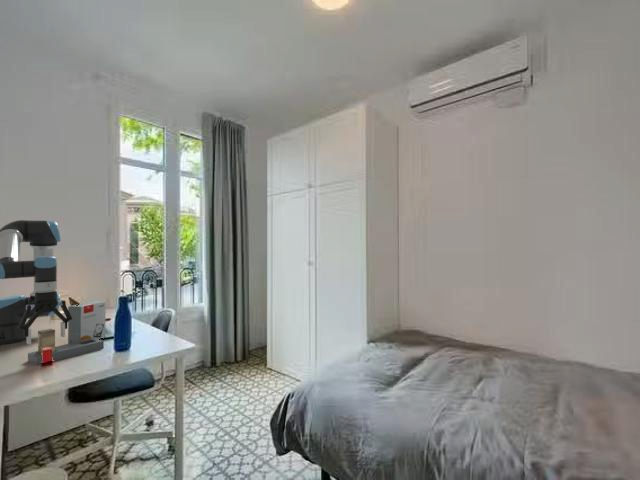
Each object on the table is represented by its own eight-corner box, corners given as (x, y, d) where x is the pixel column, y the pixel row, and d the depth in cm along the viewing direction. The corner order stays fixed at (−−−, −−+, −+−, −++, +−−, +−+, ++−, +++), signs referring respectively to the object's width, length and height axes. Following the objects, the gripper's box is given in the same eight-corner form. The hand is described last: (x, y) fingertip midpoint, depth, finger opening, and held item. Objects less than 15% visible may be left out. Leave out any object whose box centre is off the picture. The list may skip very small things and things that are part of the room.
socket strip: (27, 361, 144) (27, 352, 144) (93, 344, 166) (93, 337, 166) (36, 365, 138) (36, 356, 138) (103, 348, 160) (103, 340, 160)
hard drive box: (79, 346, 163) (79, 306, 163) (67, 345, 164) (66, 306, 164) (106, 337, 178) (105, 301, 178) (94, 336, 180) (94, 300, 180)
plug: (38, 360, 144) (37, 331, 144) (50, 357, 148) (50, 328, 148) (42, 362, 142) (42, 332, 142) (55, 358, 146) (55, 329, 146)
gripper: (13, 295, 133) (14, 349, 133) (80, 288, 153) (81, 334, 153) (7, 294, 137) (7, 346, 137) (73, 287, 157) (73, 332, 157)
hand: (46, 340), depth 145 cm, fingers open, 11 cm apart
